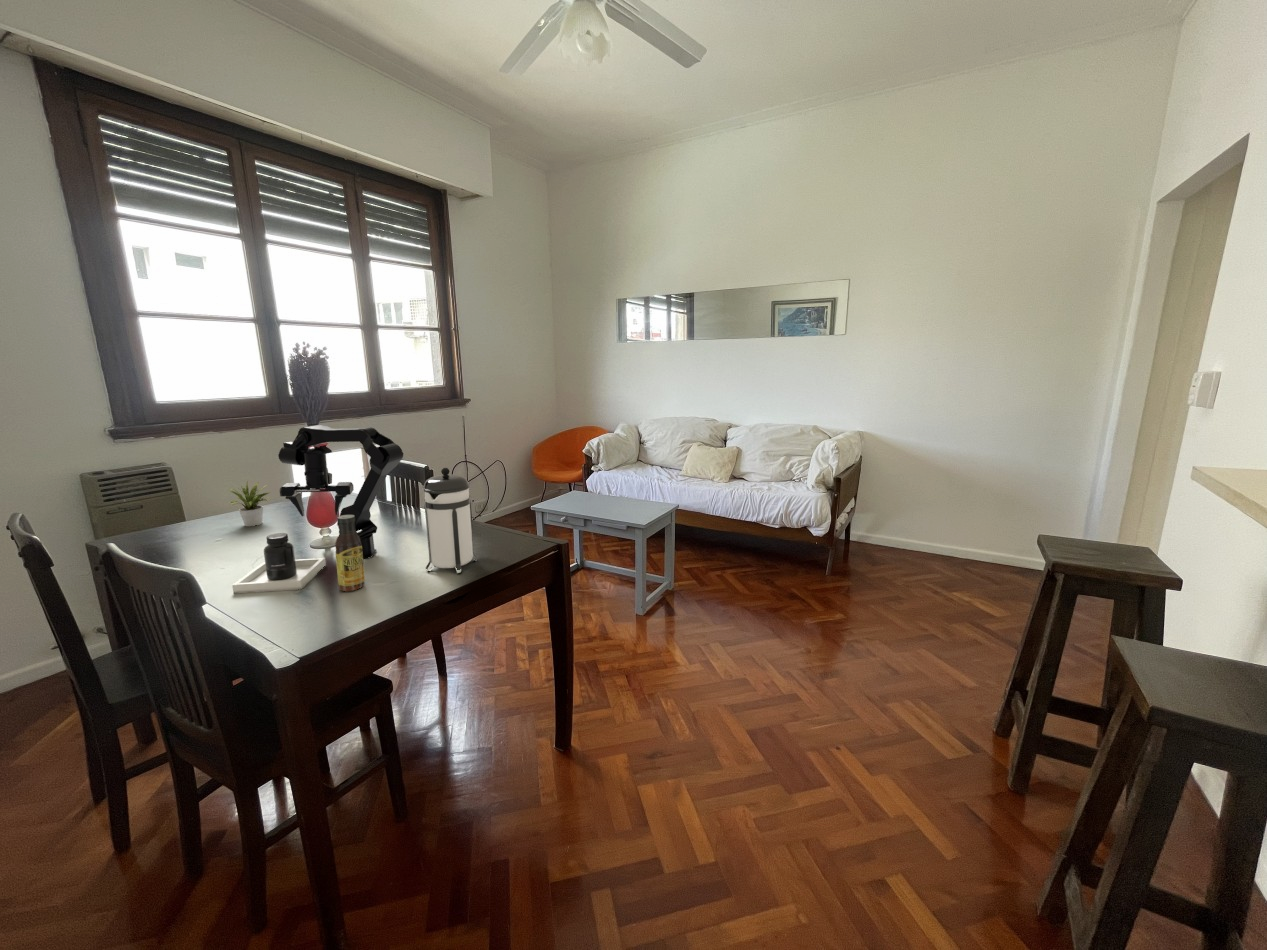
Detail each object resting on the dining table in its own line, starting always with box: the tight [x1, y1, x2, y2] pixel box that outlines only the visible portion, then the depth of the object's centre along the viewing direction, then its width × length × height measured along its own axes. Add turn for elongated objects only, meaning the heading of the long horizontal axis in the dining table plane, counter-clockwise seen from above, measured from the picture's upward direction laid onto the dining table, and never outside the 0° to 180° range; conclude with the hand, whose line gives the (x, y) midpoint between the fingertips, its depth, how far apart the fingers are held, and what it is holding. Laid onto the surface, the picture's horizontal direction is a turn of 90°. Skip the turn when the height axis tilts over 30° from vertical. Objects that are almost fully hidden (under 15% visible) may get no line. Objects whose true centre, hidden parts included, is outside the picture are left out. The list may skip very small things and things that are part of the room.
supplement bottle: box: [263, 532, 297, 581], centre depth 138 cm, size 7×7×12 cm
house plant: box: [227, 480, 271, 527], centre depth 182 cm, size 14×14×16 cm
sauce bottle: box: [334, 515, 366, 592], centre depth 132 cm, size 6×6×20 cm
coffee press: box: [421, 467, 477, 570], centre depth 147 cm, size 17×16×30 cm
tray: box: [231, 557, 327, 595], centre depth 139 cm, size 16×16×2 cm
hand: (320, 515), depth 157 cm, fingers open, 9 cm apart
